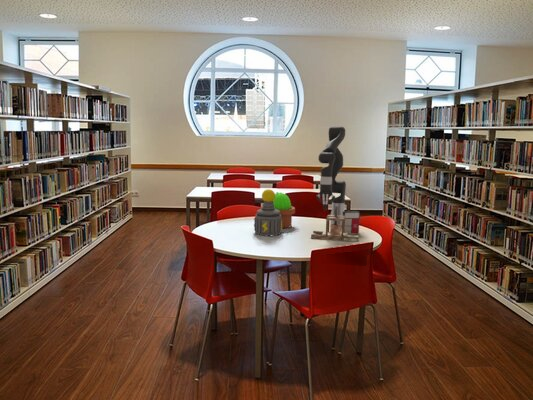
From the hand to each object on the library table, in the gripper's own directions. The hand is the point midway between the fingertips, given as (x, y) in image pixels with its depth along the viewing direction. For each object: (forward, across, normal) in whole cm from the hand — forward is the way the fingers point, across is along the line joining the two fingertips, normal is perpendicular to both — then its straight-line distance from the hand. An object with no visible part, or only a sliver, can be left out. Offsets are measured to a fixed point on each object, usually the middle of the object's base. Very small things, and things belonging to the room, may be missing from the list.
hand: (325, 209), depth 312 cm
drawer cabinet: (+18, -7, 0) cm, 20 cm away
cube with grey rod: (+16, -7, 0) cm, 18 cm away
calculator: (+18, -16, -18) cm, 30 cm away
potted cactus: (+18, +35, -28) cm, 49 cm away
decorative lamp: (+18, +38, -2) cm, 42 cm away
